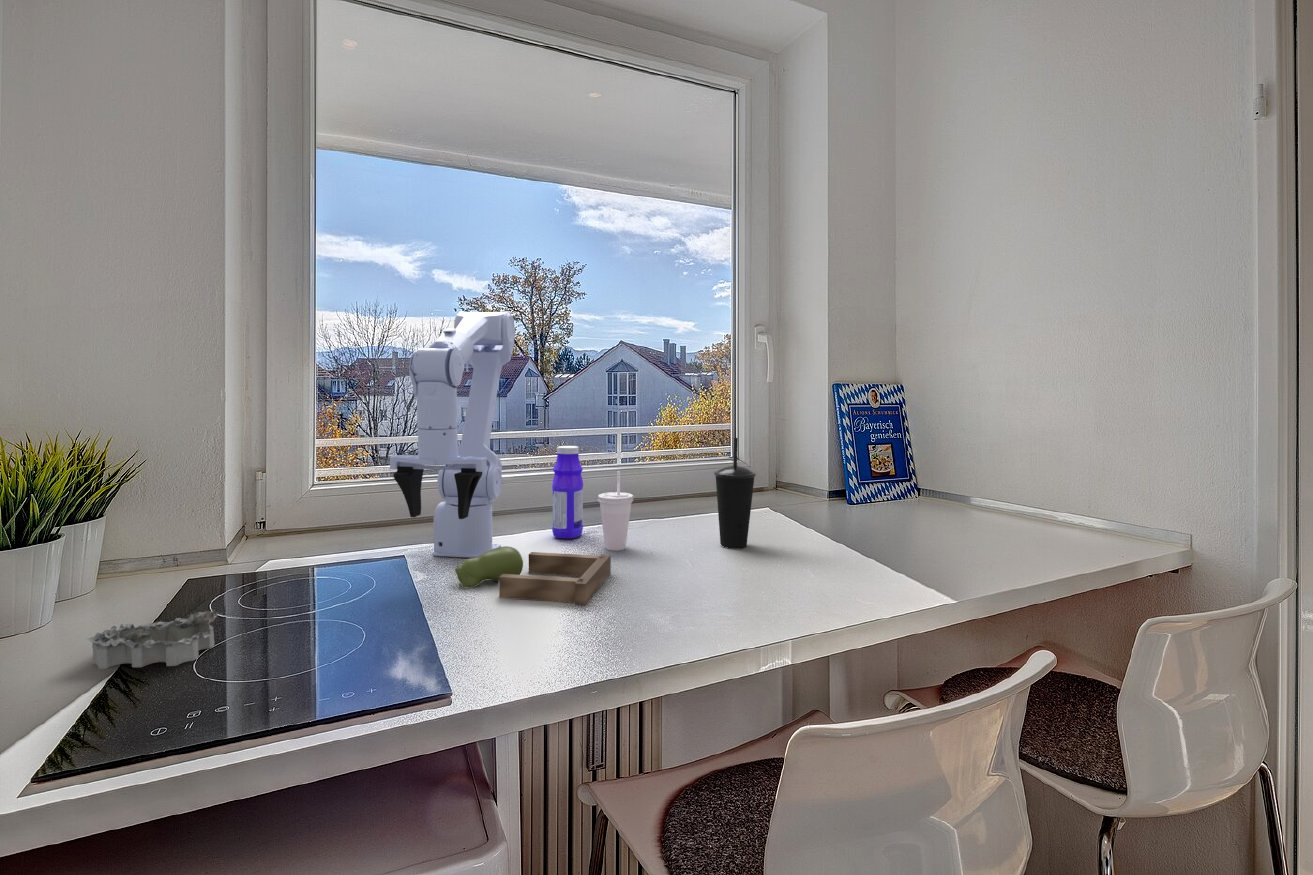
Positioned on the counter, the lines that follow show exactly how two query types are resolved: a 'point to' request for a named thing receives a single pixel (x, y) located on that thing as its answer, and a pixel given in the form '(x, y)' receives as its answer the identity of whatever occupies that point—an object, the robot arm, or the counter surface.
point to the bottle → (567, 494)
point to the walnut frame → (558, 578)
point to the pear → (489, 566)
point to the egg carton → (154, 642)
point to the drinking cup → (734, 502)
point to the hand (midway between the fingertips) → (439, 516)
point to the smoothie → (615, 517)
